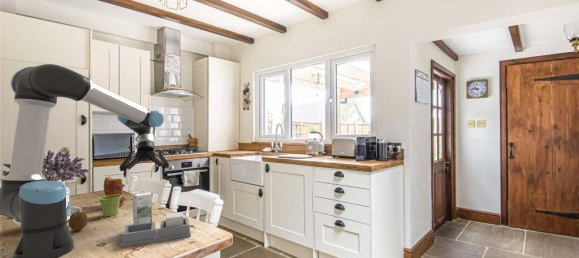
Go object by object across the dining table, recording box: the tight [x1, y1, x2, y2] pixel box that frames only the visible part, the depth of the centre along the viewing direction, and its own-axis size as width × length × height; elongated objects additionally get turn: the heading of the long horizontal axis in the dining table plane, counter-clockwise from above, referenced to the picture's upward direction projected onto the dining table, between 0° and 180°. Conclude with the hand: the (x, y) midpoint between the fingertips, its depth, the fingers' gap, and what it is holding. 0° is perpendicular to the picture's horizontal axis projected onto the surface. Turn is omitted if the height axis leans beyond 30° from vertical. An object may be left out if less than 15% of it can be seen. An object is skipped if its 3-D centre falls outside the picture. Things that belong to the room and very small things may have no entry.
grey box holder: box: [119, 211, 192, 248], centre depth 108 cm, size 23×11×7 cm, turn 112°
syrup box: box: [132, 191, 153, 225], centre depth 117 cm, size 6×6×14 cm
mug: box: [103, 176, 126, 207], centre depth 154 cm, size 15×8×15 cm, turn 58°
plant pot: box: [97, 195, 122, 218], centre depth 137 cm, size 9×9×9 cm
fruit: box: [68, 210, 89, 232], centre depth 116 cm, size 6×6×8 cm
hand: (144, 181), depth 127 cm, fingers open, 13 cm apart
